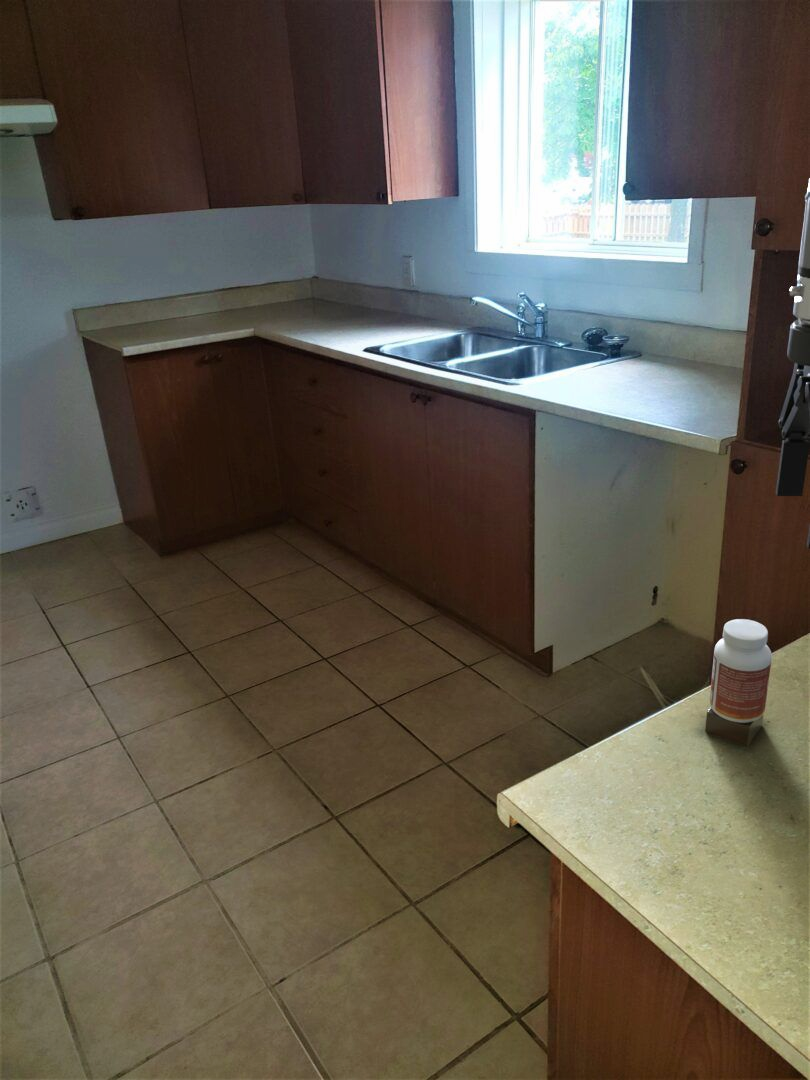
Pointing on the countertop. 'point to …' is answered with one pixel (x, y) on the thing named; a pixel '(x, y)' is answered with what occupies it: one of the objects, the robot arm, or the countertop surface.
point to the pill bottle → (741, 671)
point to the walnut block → (732, 728)
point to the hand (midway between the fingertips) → (804, 519)
